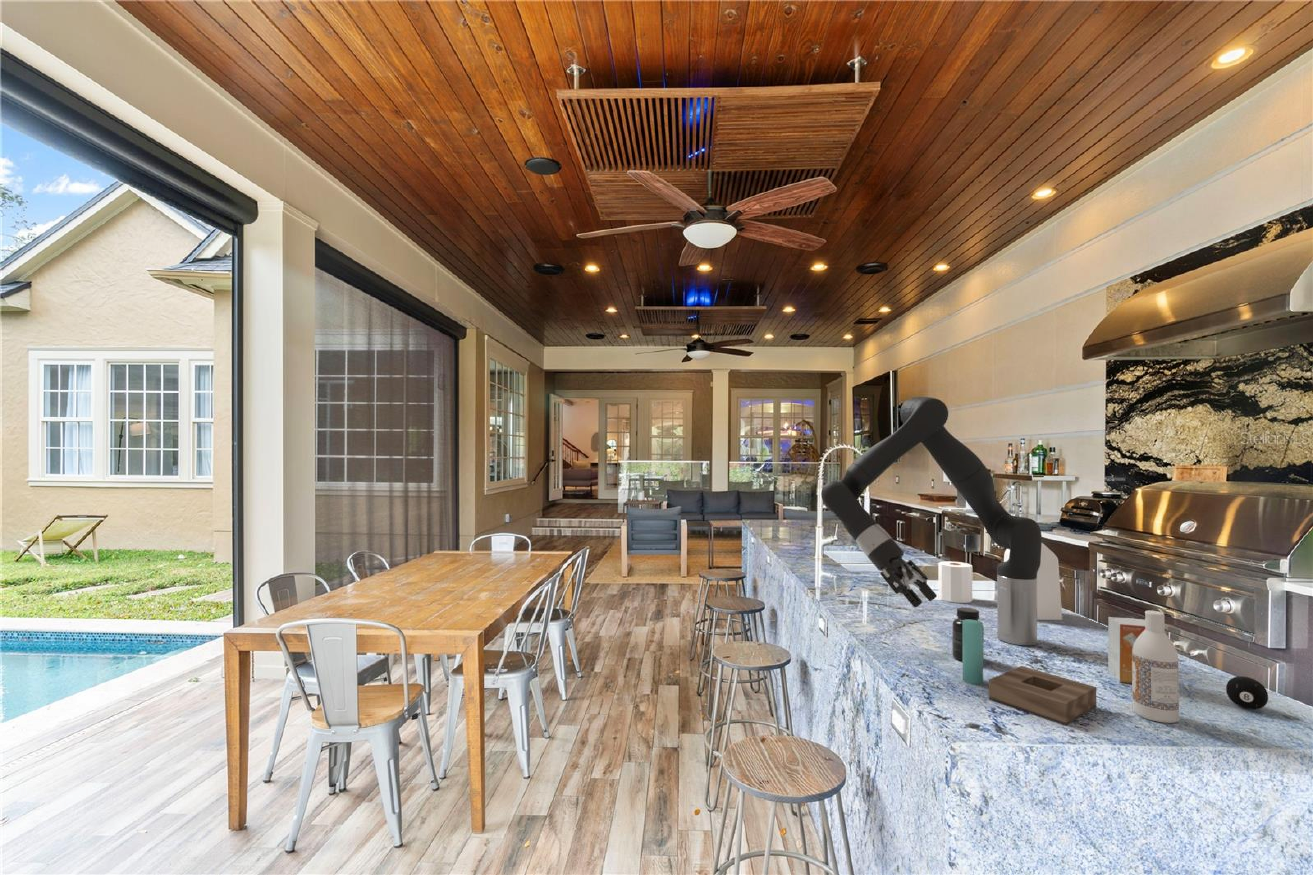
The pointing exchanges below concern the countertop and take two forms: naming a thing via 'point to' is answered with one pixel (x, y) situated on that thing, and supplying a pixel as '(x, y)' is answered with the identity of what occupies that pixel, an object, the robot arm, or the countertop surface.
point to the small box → (1122, 646)
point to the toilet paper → (955, 582)
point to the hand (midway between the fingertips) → (926, 602)
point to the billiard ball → (1247, 692)
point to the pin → (973, 651)
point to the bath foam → (1155, 672)
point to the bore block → (1043, 694)
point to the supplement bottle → (958, 630)
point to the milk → (1047, 586)
